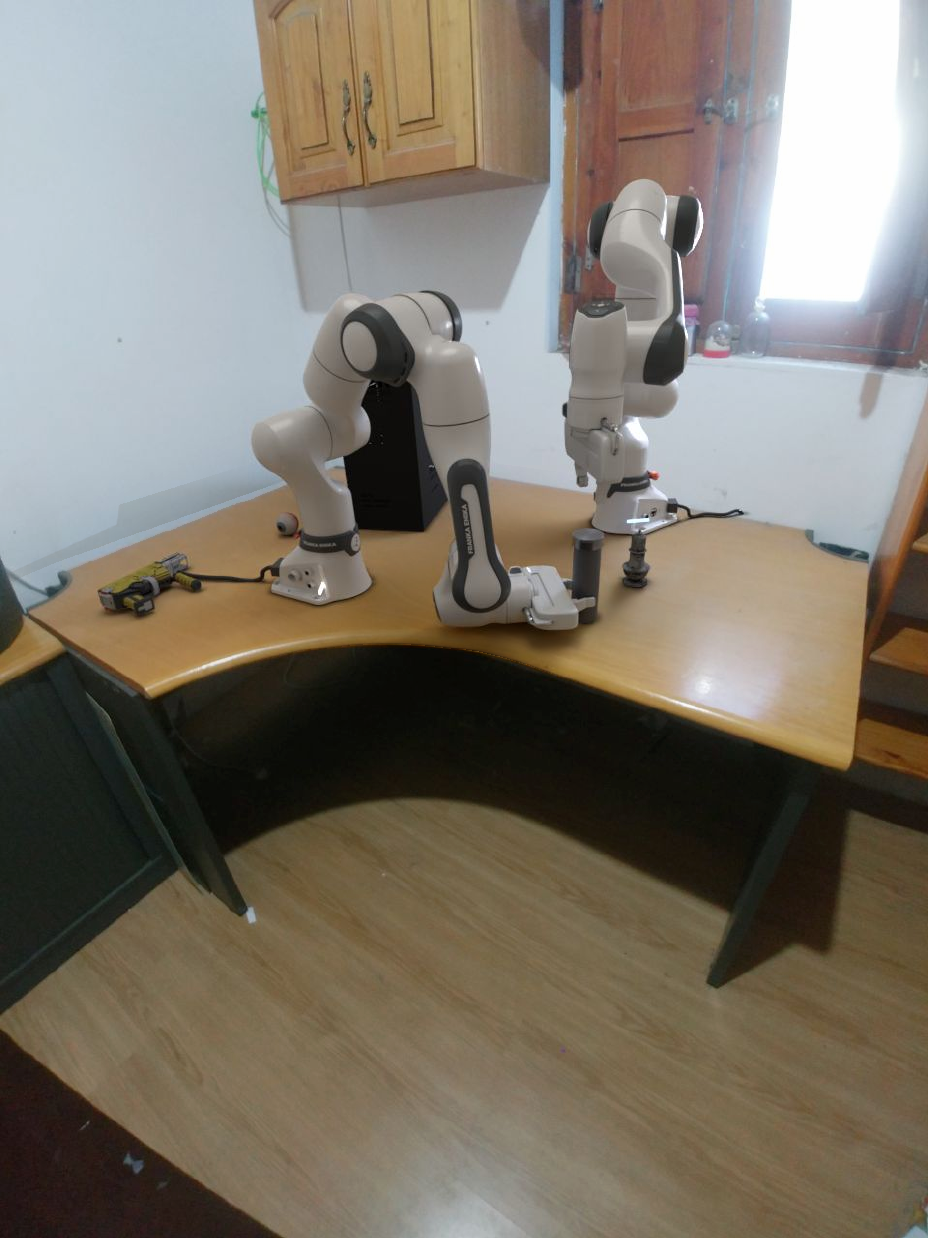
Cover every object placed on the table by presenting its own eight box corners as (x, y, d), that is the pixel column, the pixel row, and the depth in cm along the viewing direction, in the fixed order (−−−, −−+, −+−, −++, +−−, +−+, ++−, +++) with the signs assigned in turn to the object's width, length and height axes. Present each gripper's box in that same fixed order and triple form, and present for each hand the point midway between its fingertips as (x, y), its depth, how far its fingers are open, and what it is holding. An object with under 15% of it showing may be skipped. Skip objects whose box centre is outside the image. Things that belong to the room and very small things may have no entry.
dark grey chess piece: (649, 588, 127) (655, 535, 121) (620, 586, 128) (625, 534, 122) (647, 575, 132) (653, 524, 126) (620, 574, 133) (624, 523, 127)
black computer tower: (424, 530, 162) (407, 348, 139) (353, 528, 166) (326, 351, 144) (457, 486, 193) (448, 332, 171) (397, 485, 198) (380, 334, 175)
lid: (610, 546, 110) (610, 535, 109) (585, 553, 108) (586, 542, 107) (589, 536, 114) (590, 526, 113) (565, 543, 112) (566, 533, 111)
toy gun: (225, 560, 144) (174, 549, 148) (148, 603, 124) (91, 589, 127) (228, 578, 146) (177, 567, 150) (152, 623, 126) (96, 609, 130)
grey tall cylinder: (602, 618, 118) (608, 537, 109) (582, 626, 116) (586, 544, 107) (585, 608, 122) (589, 529, 113) (565, 615, 119) (568, 535, 111)
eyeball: (273, 537, 164) (268, 516, 161) (287, 528, 169) (282, 508, 166) (291, 539, 161) (286, 518, 158) (305, 530, 166) (301, 510, 163)
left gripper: (528, 611, 105) (606, 603, 105) (509, 562, 122) (576, 556, 123) (528, 641, 108) (604, 634, 109) (510, 590, 126) (575, 584, 126)
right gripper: (638, 424, 91) (630, 512, 97) (593, 400, 108) (589, 476, 115) (598, 428, 90) (592, 516, 97) (559, 403, 108) (557, 479, 114)
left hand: (589, 592), depth 116 cm, fingers closed on grey tall cylinder, 5 cm apart
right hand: (590, 494), depth 106 cm, fingers open, 8 cm apart
